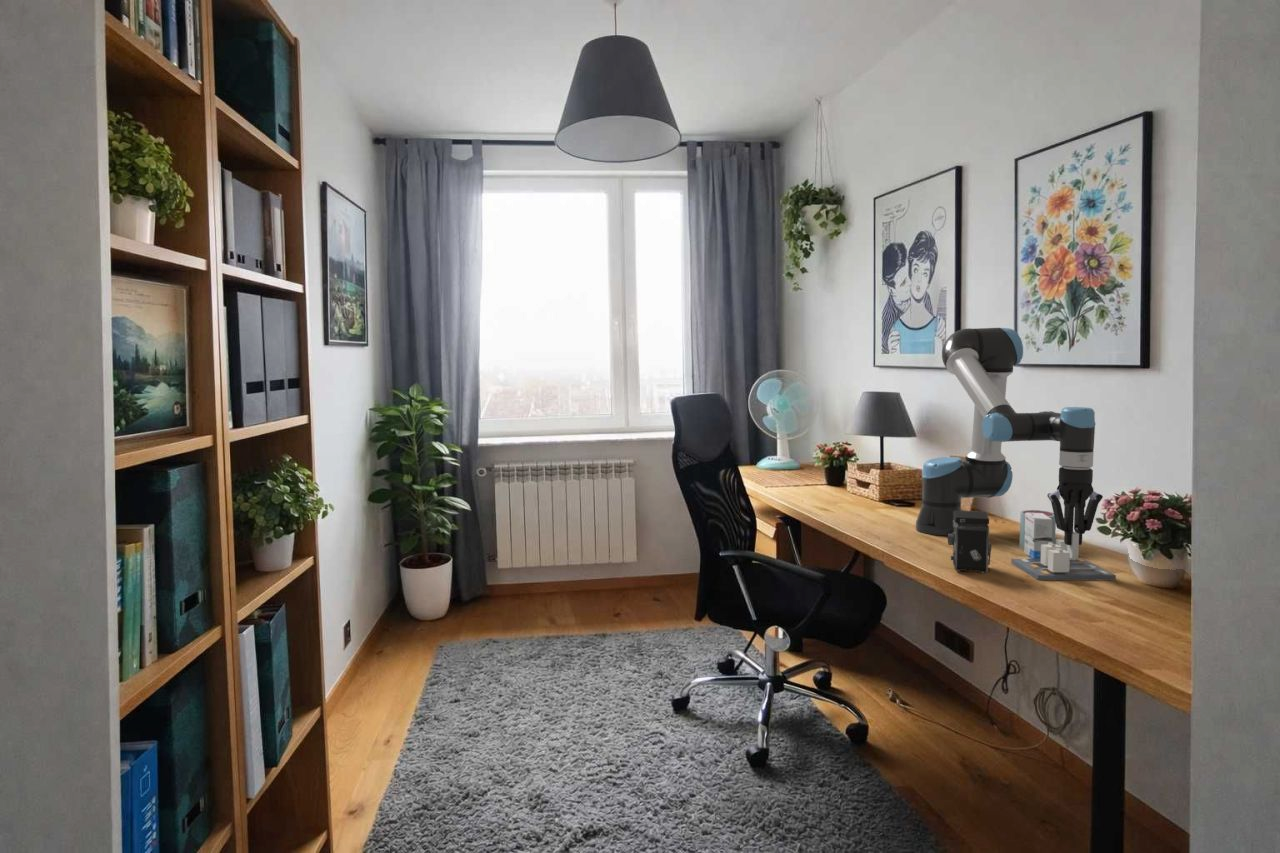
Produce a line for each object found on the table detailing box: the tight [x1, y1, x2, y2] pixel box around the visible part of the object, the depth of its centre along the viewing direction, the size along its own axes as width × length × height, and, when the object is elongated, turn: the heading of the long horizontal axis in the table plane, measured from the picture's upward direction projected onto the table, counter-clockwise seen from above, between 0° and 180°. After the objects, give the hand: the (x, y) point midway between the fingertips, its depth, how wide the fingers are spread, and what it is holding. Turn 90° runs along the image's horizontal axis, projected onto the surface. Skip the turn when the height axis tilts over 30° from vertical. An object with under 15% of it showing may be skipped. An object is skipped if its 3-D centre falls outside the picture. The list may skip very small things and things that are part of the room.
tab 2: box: [1055, 536, 1077, 560], centre depth 197 cm, size 3×4×6 cm, turn 87°
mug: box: [1019, 509, 1063, 549], centre depth 215 cm, size 14×9×10 cm
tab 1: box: [1041, 543, 1062, 566], centre depth 192 cm, size 3×4×6 cm, turn 87°
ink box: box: [1023, 513, 1052, 559], centre depth 206 cm, size 9×5×12 cm, turn 168°
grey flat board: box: [1010, 558, 1117, 581], centre depth 192 cm, size 15×19×2 cm
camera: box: [947, 510, 992, 574], centre depth 196 cm, size 10×10×15 cm
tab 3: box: [1048, 548, 1070, 572], centre depth 187 cm, size 3×4×6 cm, turn 87°
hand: (1072, 556), depth 191 cm, fingers closed
